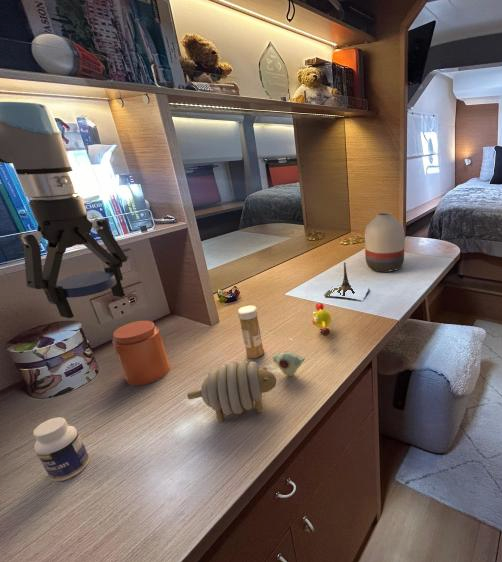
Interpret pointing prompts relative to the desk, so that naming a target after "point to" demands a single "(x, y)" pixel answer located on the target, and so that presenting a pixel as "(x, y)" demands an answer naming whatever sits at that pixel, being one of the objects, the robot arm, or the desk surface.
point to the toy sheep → (235, 388)
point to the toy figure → (322, 319)
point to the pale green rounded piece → (288, 362)
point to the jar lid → (87, 283)
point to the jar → (141, 352)
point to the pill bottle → (60, 449)
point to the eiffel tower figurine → (344, 286)
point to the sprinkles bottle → (251, 331)
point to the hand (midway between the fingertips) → (94, 305)
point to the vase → (384, 243)
